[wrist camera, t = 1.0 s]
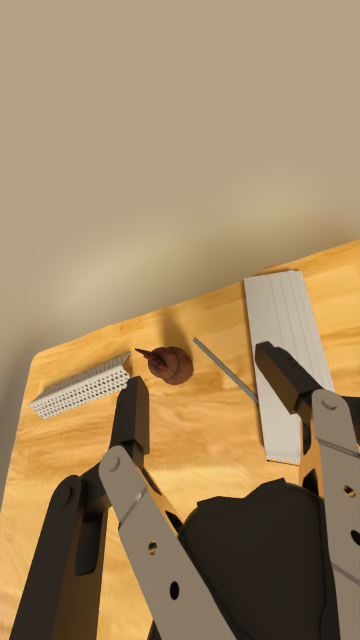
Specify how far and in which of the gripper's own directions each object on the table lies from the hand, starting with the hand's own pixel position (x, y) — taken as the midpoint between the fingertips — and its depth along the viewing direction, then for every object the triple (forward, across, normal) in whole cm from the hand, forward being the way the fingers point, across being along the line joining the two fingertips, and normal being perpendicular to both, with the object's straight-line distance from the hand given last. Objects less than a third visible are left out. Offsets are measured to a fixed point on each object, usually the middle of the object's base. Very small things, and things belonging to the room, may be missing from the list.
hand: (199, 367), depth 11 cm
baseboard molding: (+10, -17, +16) cm, 25 cm away
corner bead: (+22, +28, +24) cm, 43 cm away
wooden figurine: (+15, +2, +19) cm, 25 cm away
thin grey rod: (+11, -6, +18) cm, 23 cm away
